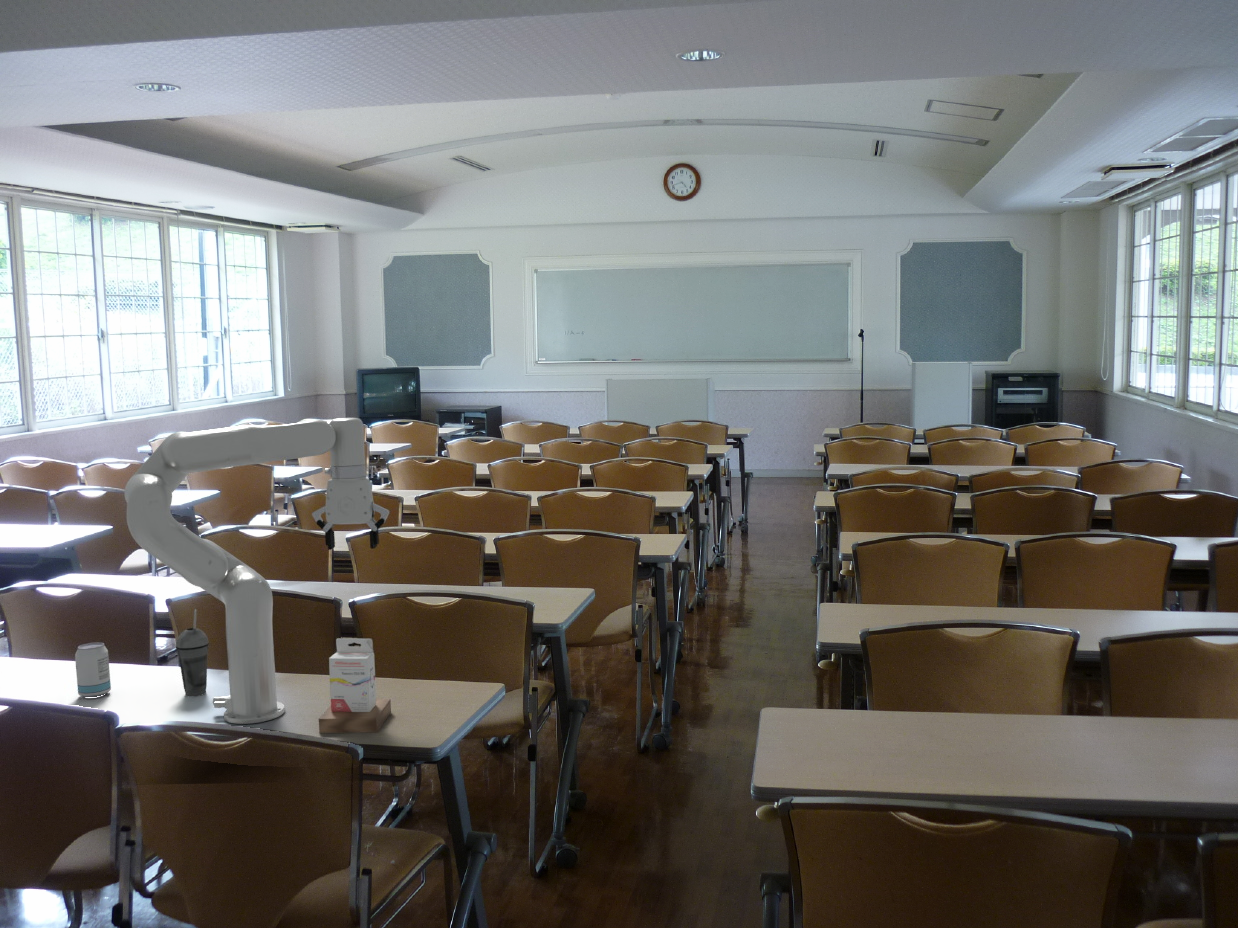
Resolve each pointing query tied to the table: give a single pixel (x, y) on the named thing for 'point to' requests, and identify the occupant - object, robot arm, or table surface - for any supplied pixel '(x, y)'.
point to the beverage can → (92, 670)
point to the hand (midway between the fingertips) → (352, 548)
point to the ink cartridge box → (352, 676)
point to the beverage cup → (193, 659)
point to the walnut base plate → (355, 719)
